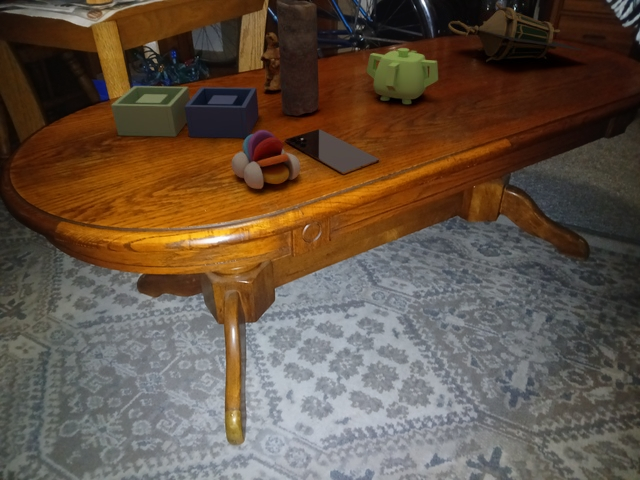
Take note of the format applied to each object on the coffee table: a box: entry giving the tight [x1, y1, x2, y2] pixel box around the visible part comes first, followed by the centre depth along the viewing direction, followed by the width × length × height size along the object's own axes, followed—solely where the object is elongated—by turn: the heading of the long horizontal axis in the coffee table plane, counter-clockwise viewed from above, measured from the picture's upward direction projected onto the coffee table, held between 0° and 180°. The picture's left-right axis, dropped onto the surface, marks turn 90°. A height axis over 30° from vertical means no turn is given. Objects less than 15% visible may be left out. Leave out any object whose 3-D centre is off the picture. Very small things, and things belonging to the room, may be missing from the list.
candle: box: [276, 0, 320, 117], centre depth 96 cm, size 8×7×20 cm
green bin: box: [110, 85, 191, 138], centre depth 94 cm, size 11×11×6 cm
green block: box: [136, 94, 169, 105], centre depth 94 cm, size 4×4×4 cm
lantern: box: [448, 2, 587, 63], centre depth 127 cm, size 14×23×30 cm
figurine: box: [259, 32, 281, 92], centre depth 108 cm, size 5×6×12 cm
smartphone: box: [284, 128, 380, 175], centre depth 85 cm, size 8×1×16 cm
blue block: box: [207, 95, 239, 106], centre depth 93 cm, size 4×4×4 cm
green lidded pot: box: [366, 47, 439, 105], centre depth 105 cm, size 12×12×10 cm
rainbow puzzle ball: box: [230, 129, 301, 190], centre depth 76 cm, size 8×10×7 cm
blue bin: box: [184, 86, 260, 139], centre depth 93 cm, size 11×11×6 cm
